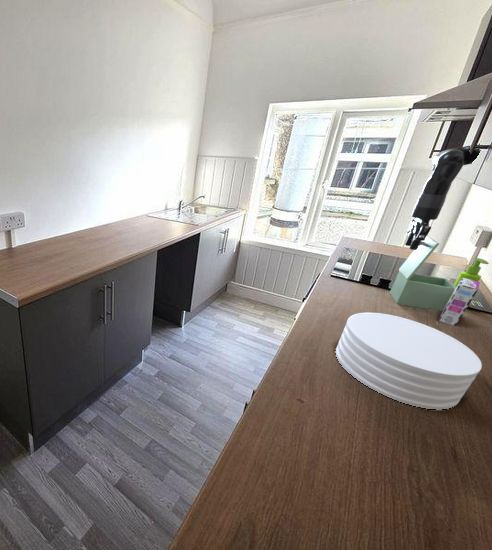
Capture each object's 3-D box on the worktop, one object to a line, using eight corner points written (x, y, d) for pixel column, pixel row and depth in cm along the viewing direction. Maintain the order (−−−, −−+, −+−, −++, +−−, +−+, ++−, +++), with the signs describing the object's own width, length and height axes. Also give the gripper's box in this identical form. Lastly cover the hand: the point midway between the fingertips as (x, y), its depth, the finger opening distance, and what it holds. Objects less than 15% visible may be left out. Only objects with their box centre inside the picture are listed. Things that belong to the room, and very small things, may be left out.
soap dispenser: (452, 304, 125) (477, 261, 117) (442, 297, 131) (465, 255, 123) (470, 307, 124) (496, 263, 115) (459, 299, 130) (483, 257, 121)
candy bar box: (455, 329, 108) (478, 289, 101) (436, 323, 111) (458, 284, 105) (458, 319, 115) (480, 281, 108) (440, 313, 118) (461, 276, 111)
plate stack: (321, 365, 88) (333, 333, 83) (350, 331, 105) (362, 303, 100) (452, 430, 69) (478, 394, 64) (463, 376, 85) (484, 344, 81)
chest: (434, 301, 128) (446, 278, 123) (445, 313, 118) (458, 289, 114) (389, 292, 134) (399, 270, 130) (396, 303, 125) (407, 280, 120)
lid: (428, 236, 121) (413, 231, 123) (439, 243, 112) (423, 238, 114) (400, 270, 130) (387, 265, 131) (409, 279, 120) (394, 274, 122)
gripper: (449, 210, 106) (428, 254, 113) (434, 203, 118) (416, 244, 125) (422, 207, 110) (404, 251, 117) (410, 201, 121) (394, 241, 128)
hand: (410, 247), depth 121 cm, fingers closed on lid, 5 cm apart
